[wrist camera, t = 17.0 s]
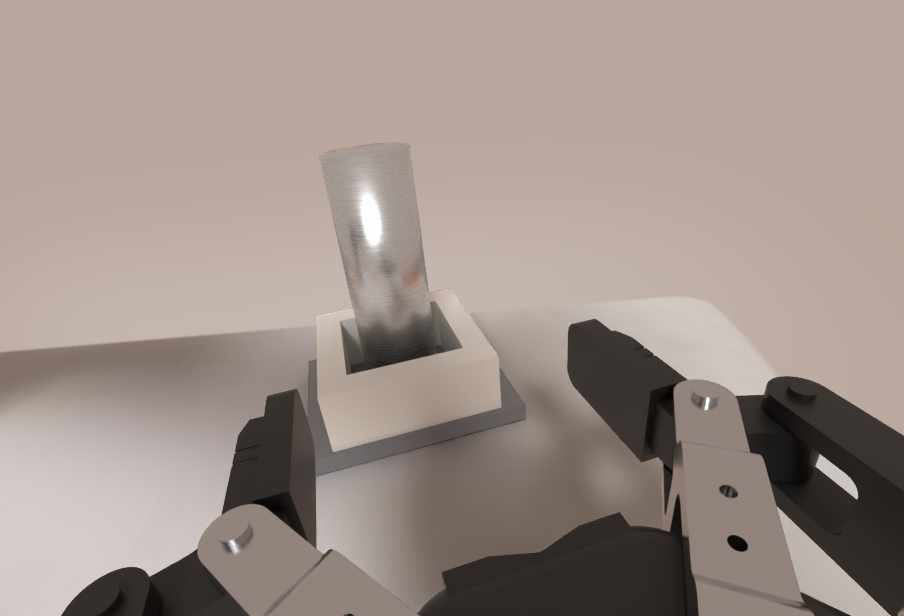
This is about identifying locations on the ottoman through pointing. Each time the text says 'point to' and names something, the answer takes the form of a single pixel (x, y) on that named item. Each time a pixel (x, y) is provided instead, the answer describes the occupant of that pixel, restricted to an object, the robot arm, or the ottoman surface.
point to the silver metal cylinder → (381, 250)
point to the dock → (403, 390)
